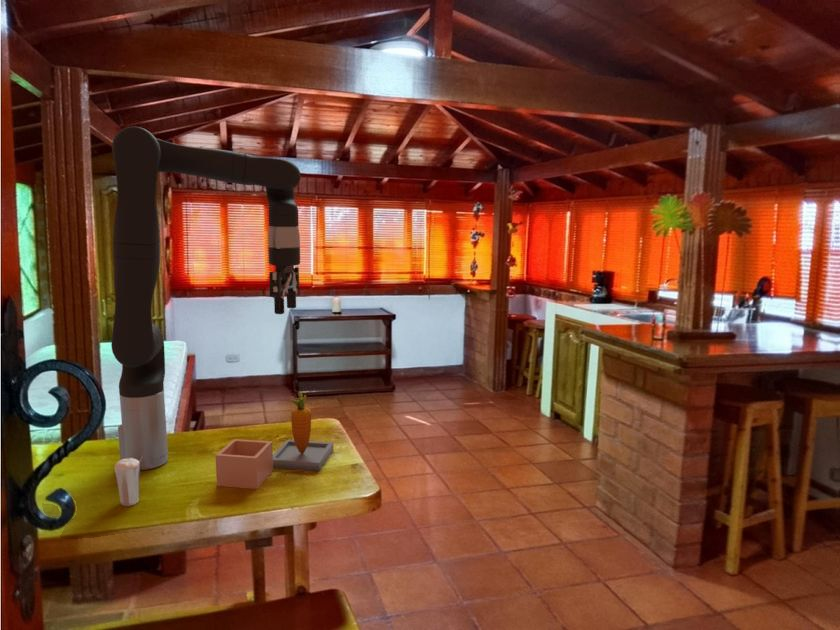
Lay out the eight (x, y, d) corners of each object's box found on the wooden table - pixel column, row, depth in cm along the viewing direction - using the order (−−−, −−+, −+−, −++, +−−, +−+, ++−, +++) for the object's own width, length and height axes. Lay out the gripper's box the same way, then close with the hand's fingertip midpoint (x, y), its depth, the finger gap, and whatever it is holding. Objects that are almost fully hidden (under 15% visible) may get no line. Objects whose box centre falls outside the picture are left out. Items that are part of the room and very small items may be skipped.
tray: (268, 467, 135) (268, 459, 135) (286, 447, 147) (286, 439, 147) (319, 471, 134) (319, 462, 134) (333, 450, 146) (333, 442, 145)
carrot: (307, 458, 137) (306, 397, 135) (288, 456, 138) (286, 395, 136) (315, 450, 142) (314, 391, 140) (296, 448, 143) (295, 389, 141)
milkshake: (141, 507, 116) (138, 460, 115) (113, 508, 116) (109, 460, 114) (150, 496, 121) (146, 451, 119) (123, 497, 120) (119, 451, 119)
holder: (216, 485, 126) (215, 455, 125) (235, 467, 135) (234, 439, 134) (257, 489, 125) (256, 458, 124) (273, 470, 134) (272, 441, 133)
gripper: (279, 243, 150) (281, 305, 153) (257, 246, 136) (259, 315, 139) (308, 244, 149) (309, 307, 152) (288, 247, 135) (290, 316, 138)
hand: (285, 310), depth 145 cm, fingers open, 8 cm apart
